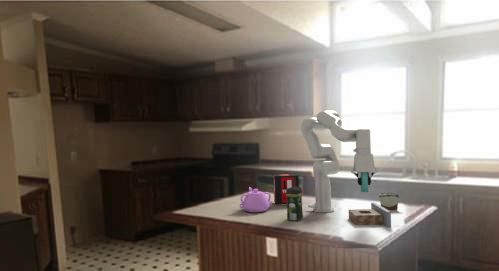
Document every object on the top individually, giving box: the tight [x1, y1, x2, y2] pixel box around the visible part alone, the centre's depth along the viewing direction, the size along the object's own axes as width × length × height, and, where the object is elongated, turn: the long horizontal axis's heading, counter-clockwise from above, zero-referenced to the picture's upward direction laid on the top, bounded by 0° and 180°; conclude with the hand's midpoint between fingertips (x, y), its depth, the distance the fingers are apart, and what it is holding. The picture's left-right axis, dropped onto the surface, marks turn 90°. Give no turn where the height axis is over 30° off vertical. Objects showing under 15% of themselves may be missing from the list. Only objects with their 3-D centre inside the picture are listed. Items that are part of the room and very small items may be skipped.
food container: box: [378, 192, 400, 211], centre depth 215 cm, size 12×6×10 cm, turn 84°
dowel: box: [360, 172, 369, 193], centre depth 186 cm, size 4×4×12 cm
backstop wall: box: [370, 202, 392, 228], centre depth 186 cm, size 2×24×8 cm, turn 179°
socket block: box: [348, 208, 383, 226], centre depth 186 cm, size 14×14×5 cm
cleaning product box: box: [273, 173, 300, 205], centre depth 241 cm, size 16×9×20 cm, turn 90°
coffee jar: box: [286, 186, 304, 222], centre depth 196 cm, size 10×8×19 cm
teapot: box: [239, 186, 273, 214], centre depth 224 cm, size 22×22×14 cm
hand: (364, 184), depth 186 cm, fingers closed on dowel, 4 cm apart
